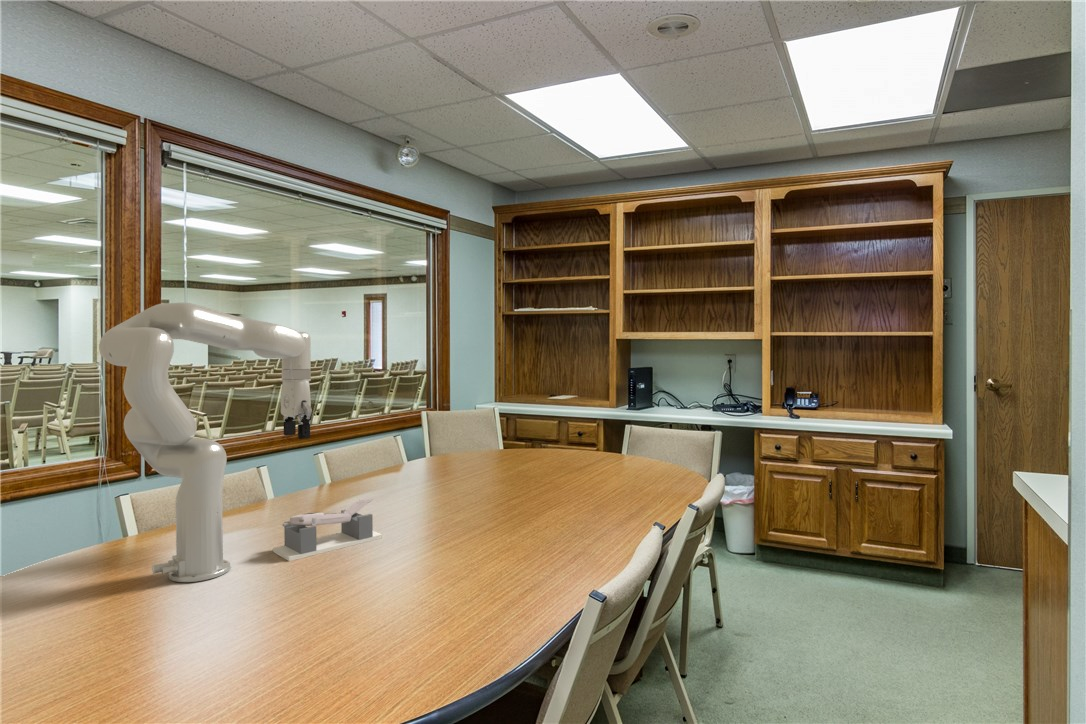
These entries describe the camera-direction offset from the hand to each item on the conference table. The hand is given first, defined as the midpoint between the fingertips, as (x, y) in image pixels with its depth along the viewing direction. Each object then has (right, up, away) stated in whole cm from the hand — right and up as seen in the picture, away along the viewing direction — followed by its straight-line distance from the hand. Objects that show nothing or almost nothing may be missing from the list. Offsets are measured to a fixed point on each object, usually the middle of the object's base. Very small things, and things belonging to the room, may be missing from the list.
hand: (296, 436), depth 170 cm
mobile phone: (+12, -23, -7) cm, 27 cm away
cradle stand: (+12, -28, -7) cm, 31 cm away
